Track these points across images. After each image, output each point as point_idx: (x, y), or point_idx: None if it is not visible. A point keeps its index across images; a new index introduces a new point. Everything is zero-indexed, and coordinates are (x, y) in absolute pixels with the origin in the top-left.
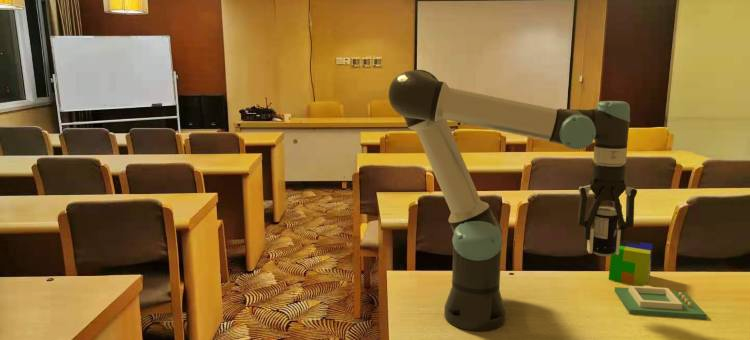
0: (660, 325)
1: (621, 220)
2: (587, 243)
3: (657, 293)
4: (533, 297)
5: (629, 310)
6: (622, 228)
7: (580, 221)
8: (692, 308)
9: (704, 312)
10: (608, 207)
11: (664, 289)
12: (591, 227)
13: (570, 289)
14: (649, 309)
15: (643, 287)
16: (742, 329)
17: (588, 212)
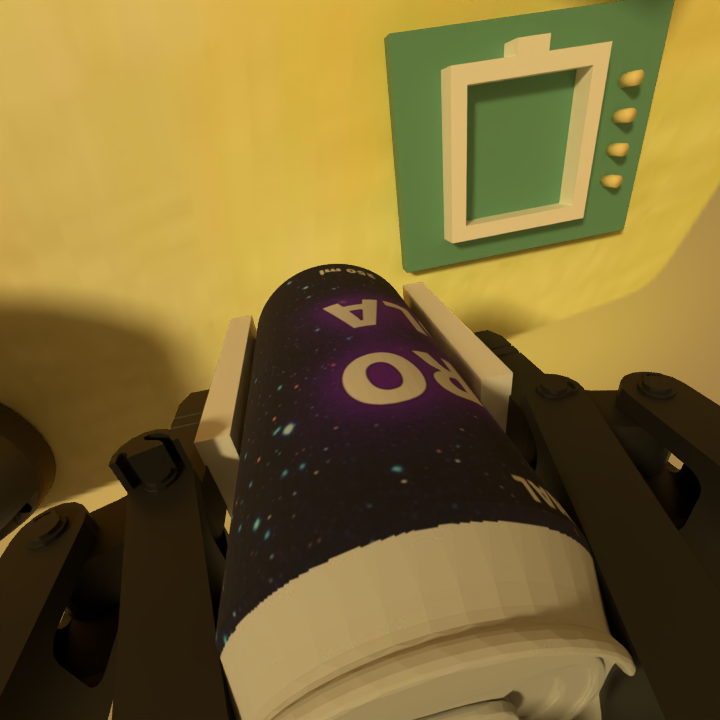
0: (469, 314)
1: None
2: (224, 343)
3: (550, 73)
4: (54, 241)
5: (405, 268)
6: None
7: (88, 629)
8: (607, 191)
9: (626, 213)
10: (537, 651)
11: (589, 65)
12: (233, 481)
13: (184, 81)
14: (468, 250)
15: (508, 70)
16: (665, 262)
17: (118, 653)
